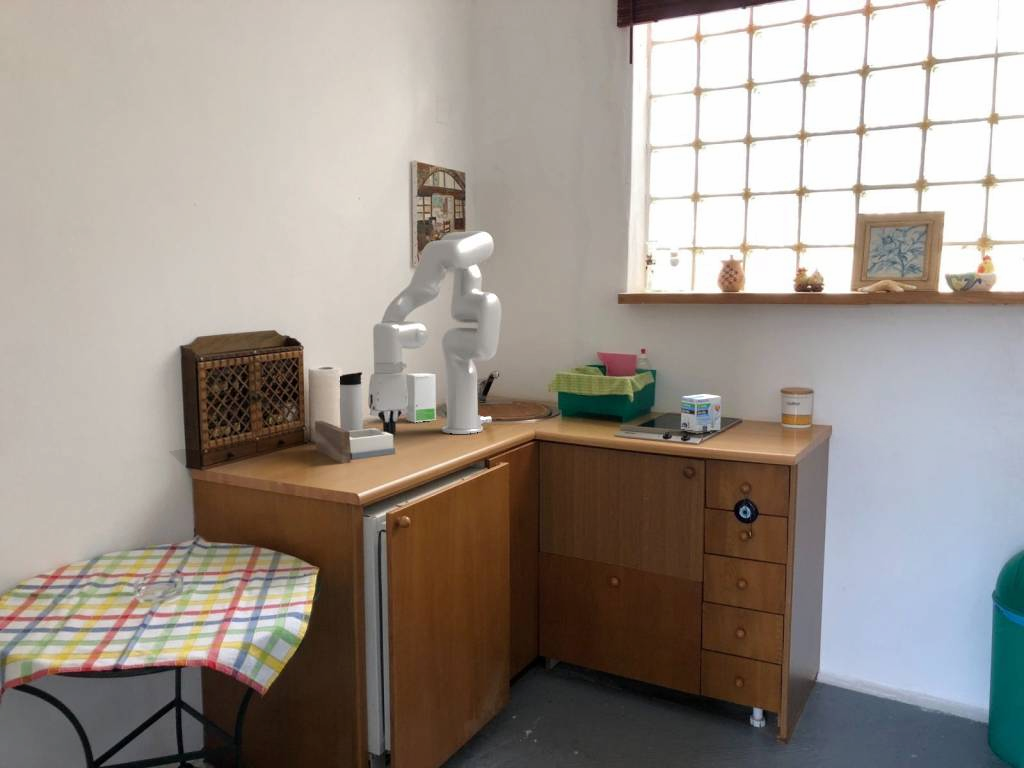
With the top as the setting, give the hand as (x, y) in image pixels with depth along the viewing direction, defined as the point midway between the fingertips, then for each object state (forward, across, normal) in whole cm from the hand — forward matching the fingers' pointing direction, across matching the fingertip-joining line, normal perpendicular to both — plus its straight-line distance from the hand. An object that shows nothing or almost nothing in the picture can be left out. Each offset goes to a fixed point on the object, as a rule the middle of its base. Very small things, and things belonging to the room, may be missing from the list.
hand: (389, 435), depth 217 cm
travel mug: (+4, +4, -16) cm, 17 cm away
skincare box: (+4, -28, -36) cm, 46 cm away
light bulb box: (+4, -88, +30) cm, 94 cm away
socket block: (+4, +8, 0) cm, 8 cm away
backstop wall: (+4, +16, 0) cm, 17 cm away
